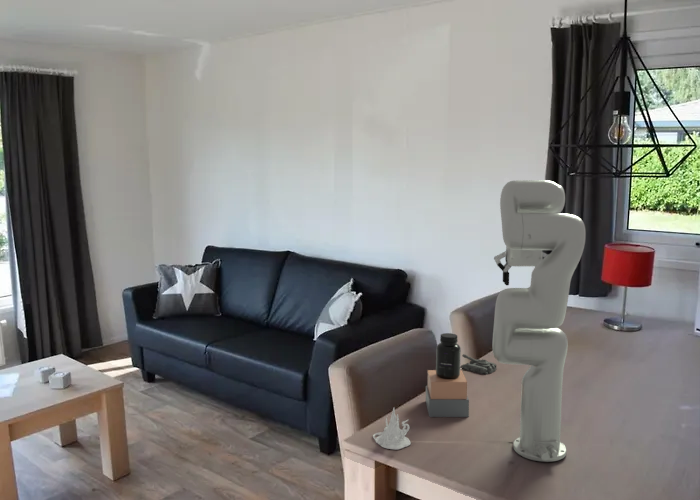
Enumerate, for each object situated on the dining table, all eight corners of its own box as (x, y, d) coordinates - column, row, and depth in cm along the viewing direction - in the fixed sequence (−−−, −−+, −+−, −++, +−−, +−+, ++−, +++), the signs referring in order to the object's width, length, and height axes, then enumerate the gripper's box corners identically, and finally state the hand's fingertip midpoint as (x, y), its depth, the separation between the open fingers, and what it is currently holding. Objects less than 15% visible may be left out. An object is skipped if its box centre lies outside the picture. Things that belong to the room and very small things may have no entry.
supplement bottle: (441, 380, 167) (442, 339, 166) (432, 373, 174) (432, 333, 172) (464, 378, 169) (464, 337, 167) (453, 370, 176) (454, 331, 174)
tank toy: (455, 371, 207) (455, 357, 206) (469, 365, 214) (469, 350, 213) (486, 379, 199) (486, 364, 198) (500, 372, 206) (500, 357, 205)
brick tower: (468, 417, 167) (469, 382, 166) (429, 416, 167) (429, 382, 166) (462, 402, 178) (463, 369, 177) (425, 401, 178) (425, 369, 177)
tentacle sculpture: (390, 429, 160) (390, 396, 159) (422, 445, 150) (422, 409, 149) (364, 438, 154) (364, 404, 153) (396, 455, 145) (396, 419, 144)
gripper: (497, 229, 174) (496, 287, 176) (557, 228, 173) (555, 286, 175) (492, 226, 181) (491, 282, 183) (549, 226, 180) (548, 282, 183)
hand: (522, 284), depth 179 cm, fingers open, 9 cm apart
